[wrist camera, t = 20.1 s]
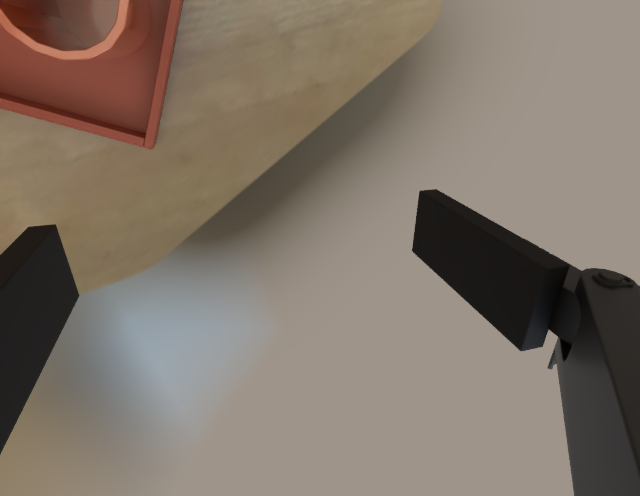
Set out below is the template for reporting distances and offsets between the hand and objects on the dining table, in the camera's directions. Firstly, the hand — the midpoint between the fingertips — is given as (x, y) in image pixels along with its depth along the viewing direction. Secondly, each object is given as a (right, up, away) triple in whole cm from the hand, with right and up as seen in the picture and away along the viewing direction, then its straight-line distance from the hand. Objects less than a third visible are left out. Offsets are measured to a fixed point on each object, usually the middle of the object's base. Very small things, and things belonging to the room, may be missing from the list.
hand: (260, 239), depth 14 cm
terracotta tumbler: (-15, +19, +16) cm, 29 cm away
